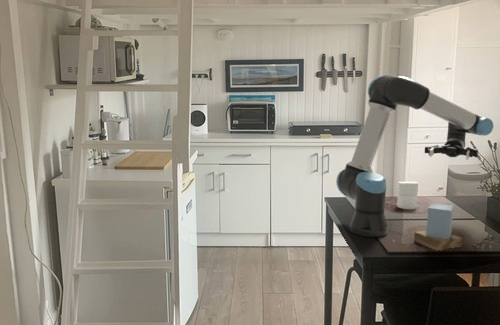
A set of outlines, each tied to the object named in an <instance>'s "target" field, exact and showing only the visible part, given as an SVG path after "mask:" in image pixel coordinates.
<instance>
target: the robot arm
mask: <svg viewBox="0 0 500 325" xmlns="http://www.w3.org/2000/svg"><path fill="white" fill-rule="evenodd" d="M367 88H368V89H367V94H368V97H369V99H368V102H367V104H368V106H369V111H368V114H367V115H366V116H367V117H366V118H365V122H364V124H363V127H362V130H361V132H360V135H359V139H358V142H357V144H356V147H355V150H354V153H353V156H352V158H351V161H348V162H347V163H346V165H345V167H344V169H342V170H341V171H339V173H337V176H336V187H337V189H338V191H339V192H340V193H341V194H342V195H343V196H344V197H347V198H349V199H352V200H354V201H355V203H354V204H355V205H354V213H353V215H352V218H351V222H350V224H349V231H350V232H351V233H353V234H355V235H357V236H361V237H369V238H370V237H371V238H374V237H375V238H377V237H384V236H386V235H388V232H389V230H388V229H389V226H388V223H387V222H388V221H387V219H386V215H385V210H386V209H385V208H386V192H387V181H386V178H385V176H384V175H381V174H379V173H375V172H373V169H372V166H373V163H374V160H375V157H376V154H377V151H378V149H379V147H380V144H381V140H382V137H383V135H384V131H385V129H386V125H387V124H388V121H389V117H390V115H391V114H392V113H395V112H396V109H397V106H405V107H408V108H412V109H414V110H422V111H424V112H427V113H429V114H431V115H433V116H435V117H437V118H439V119H441V120H443V121H446V122H447V123H448V126H447V137H446V142H445V143H444V145H441V146H440V145H439V144H435V145H429V146H425V147H424V154H428V156H429V157H430V158H431V157H433V156H434V154H442V155H446V156H447V157H449V158H457V157H458V156H466V157H465V159H466V160H469V158H473V157H474V158H478V154H479V151H478V150H476V149H473V148H472V147H466V135H467V134H470V135H471V134H472V135H476V136H477V135H478V136H480V137H481V136H488V135H490V134H491V133H492V132H493V129H494V122H493V120H492V119H491V118H488V117H485V116H480V115H478V114H475V113H473V112H471V111H469V110H468V109H465V108H463V106H462V107H461V106H459V105H457V104H455V103H453V102H451V101H449V100H447V99H446V98H443V97H441V96H439V95H437V94H435V93H433V92H431V90H430V89H429V87H427V86H425V85H423V84H421V83H419V82H417V81H415V80H413V79H411V78H410V77H406V76H403V75H402V76H401V75H380V76H377V77H375V78H374V79H373V80H371V82H370V83H369V85H368V87H367ZM465 147H466V148H465Z"/></svg>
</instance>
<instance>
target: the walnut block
mask: <svg viewBox="0 0 500 325" xmlns="http://www.w3.org/2000/svg"><path fill="white" fill-rule="evenodd" d="M426 232H427V229H425V230H419V231H414V235H413V236H414V237H413V238H414V239H413V241H414V242H416V243H418V244H421V245H423V246H424V247H427V248H430V249H432V250H434V251H436V250H437V251H436V252H438V250H440V251H444V250H443V249H446V250H450V249H449V248H451V249H456V248H455V247H457V248H461V246H463V237H461V236H459V235H457V234H454V233H452V232H451V235H450V238H449V239H442V238H436V237H429V236H426Z"/></svg>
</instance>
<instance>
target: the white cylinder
mask: <svg viewBox="0 0 500 325" xmlns="http://www.w3.org/2000/svg"><path fill="white" fill-rule="evenodd" d="M397 184H398V186H397V198H396V199H397V200H396V202H397V203H396V207H397V208H400V209H402V210H403V209H404V210H416V209H417V207H418V206H417V203H418V191H419V190H418V189H419V183H418V182H417V181H398V183H397Z"/></svg>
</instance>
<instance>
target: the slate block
mask: <svg viewBox="0 0 500 325" xmlns="http://www.w3.org/2000/svg"><path fill="white" fill-rule="evenodd" d="M454 208H455V206H454V205H453V204H445V203H444V204H443V203H436V202H431V203H430V205H429V206H428V208H427V220H426V221H427V222H426V230H427V232H426V236H429V237H436V238H442V239H449V238H450V235H451V233H452V230H453V228H452V227H453V216H454Z"/></svg>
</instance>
